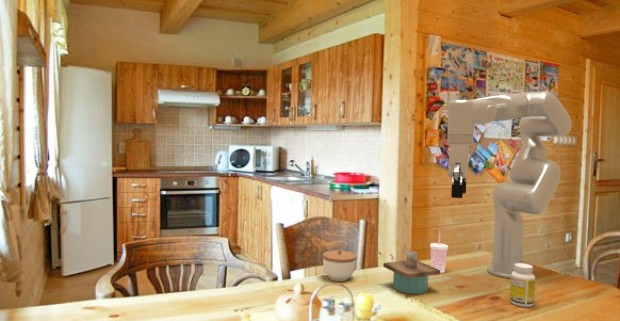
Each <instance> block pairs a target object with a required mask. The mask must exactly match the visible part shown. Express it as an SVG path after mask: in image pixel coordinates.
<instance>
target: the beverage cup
mask: <svg viewBox="0 0 620 321" xmlns="http://www.w3.org/2000/svg"><path fill="white" fill-rule="evenodd" d="M441 233H442V232H441V230H439V231H438V242H433V243H430V244H429V245H430V246H429V247H430V266H431V267H434V268H436V269H439V270H440V274H441V273H445V272H446V264H447V255H448V254H447V253H448V249H449V245H447V244H445V243H441Z"/></svg>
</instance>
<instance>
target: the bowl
mask: <svg viewBox="0 0 620 321" xmlns="http://www.w3.org/2000/svg"><path fill="white" fill-rule="evenodd" d="M392 277H393V281H392V282H393V283H392V286H393V287H392V288H393V289H394V290H396V291H397V292H400V293H404V294H407V295H409V294H411V295H419V294H425V293H426V292H427V291H428V288H429V286H428V284H429V276H422V277H415V278H406V277H404V276H402V275H399V274H397V273H395V272H393V276H392Z"/></svg>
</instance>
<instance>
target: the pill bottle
mask: <svg viewBox="0 0 620 321" xmlns="http://www.w3.org/2000/svg"><path fill="white" fill-rule="evenodd" d="M533 268H534V267H533V265H529V264H524V263H516V264H515V265H514V269H515V271H513V272H512V274H511V278H510V286H509V287H510V289H509V290H510V292H509V301H510V303H511V304H512V305H514V306H518V307H523V308H530V307H531V308H532V307H533V306H534V305H535V289H536V288H535V286H536V285H535V284H536V276H535V274H533V271H534V270H533Z"/></svg>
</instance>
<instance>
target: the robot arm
mask: <svg viewBox="0 0 620 321" xmlns="http://www.w3.org/2000/svg"><path fill="white" fill-rule="evenodd" d="M447 106H448V107H447V139H446V140H447V142H446V143H447V146H450V148H449V159H448V172H447V173H448V178H452V180H451V191H450V192H451V196H450V197H451V198H453V199H462V198H463V196H464V194H465V195H466V193H467V178H466V177H467V176H468V172H469V160H470V158H469V157H470V155H469V154H470V146H474V125H486V124H490V123H491V122H502V121H510V120H515V119H520V120H519V122H518V123H519V126H518V127H519V132H520V136H521V142H522V143H521V144H522V146H521V148H520V151H519V153H518V155H517V157H516V159H515V161H514V162H513V164H512V165H511V168H510V171H509V179H510V182H501V183H499V184H497V185H496V186H495V187H494V189H493V191H492V200H493V209H494V222H493V223H494V226H493V227H494V228H493V244H492V260H491V265H488V266H487V267H486V270H487V272H488V273H490V274H491V275H494V276H496V277H502V278H505V279H511V274H512V272H513V271H515V269H514V265H515V264H516V263H524V264H529V265H531V261H530V260H524V259H523V257H524V244H525V243H524V241H525V240H524V237H525V221H524V218H523V216H522V214H521V213H525V214H529V215H541V214H542V213H543V212H544V211H545V210H546V209H547V207H548V206H549V204H550V202H551V199H552V198H553V196H554V194H555V192H556V190H557V188H558V186H559V183H560V180H561V168H560V165H559V164H558V163H557V162H555V160H554V161H553V160H550V159H546V158H547V156H548V149H547V147H546V145H545V143H544V142H543V140H542V139H541V137H553V138H554V137H556V138H557V137H564V136H566V135H568V134H569V133H570V132H571V129H572V119H571V116H570V115H569V113H568V112H567V110H566V108H565V106H564V105H563V104H562V102H561V101H560V100H559V99H558V98H557V97H556V96H555V94H553V93H552V92H550V91H548V90H545V91H529V92H526V91H525V92H518V93H509V94H501V95H494V96H489V97H481V98H474V99H454V100H451V101H449V102H448V105H447ZM531 266H532V265H531Z"/></svg>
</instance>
